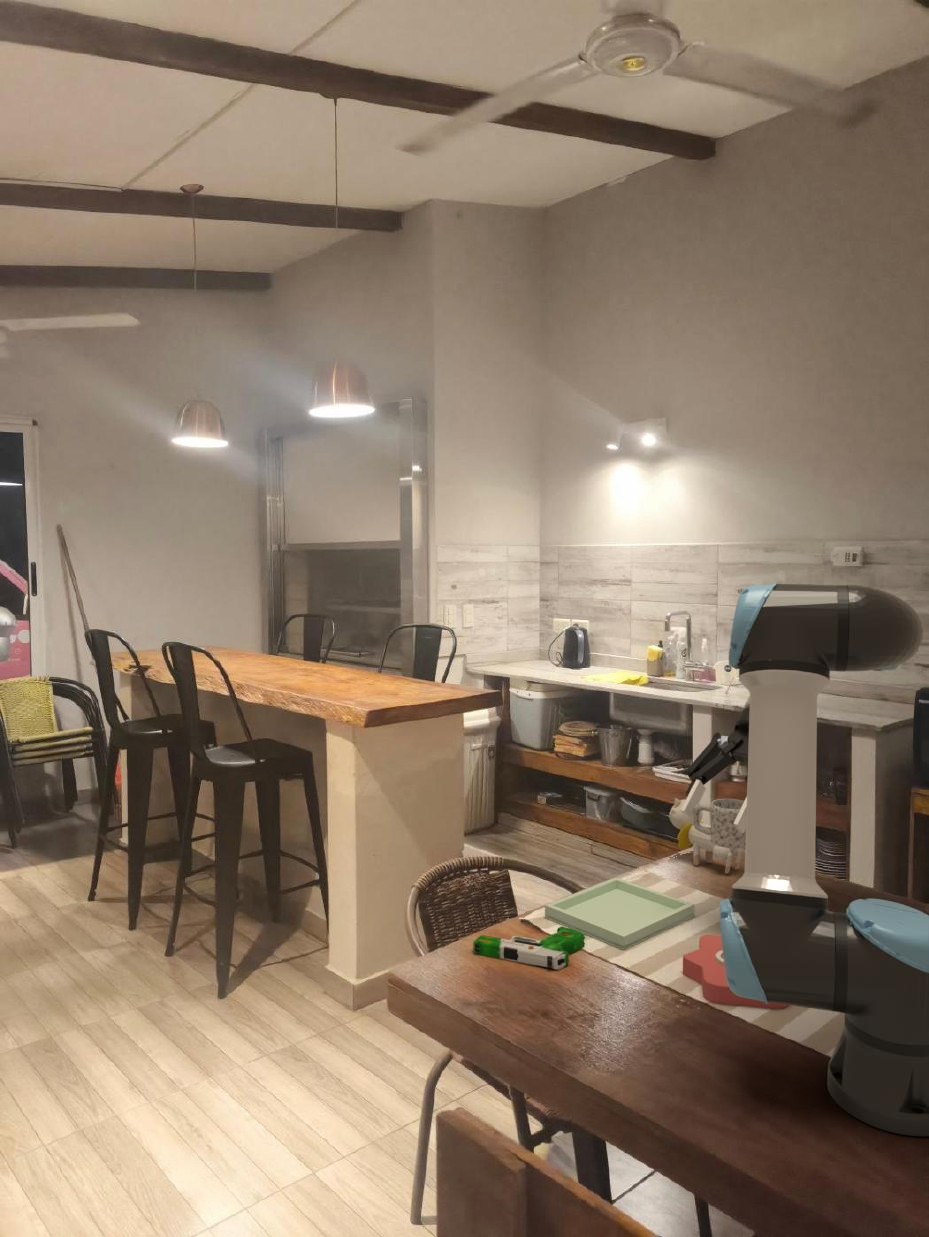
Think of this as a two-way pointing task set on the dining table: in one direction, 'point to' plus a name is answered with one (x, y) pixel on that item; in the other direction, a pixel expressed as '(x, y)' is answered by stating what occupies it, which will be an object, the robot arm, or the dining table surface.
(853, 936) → the robot arm
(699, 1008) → the dining table surface
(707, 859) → the toy
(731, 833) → the mug
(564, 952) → the handgun
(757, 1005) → the plaque
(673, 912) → the tray
